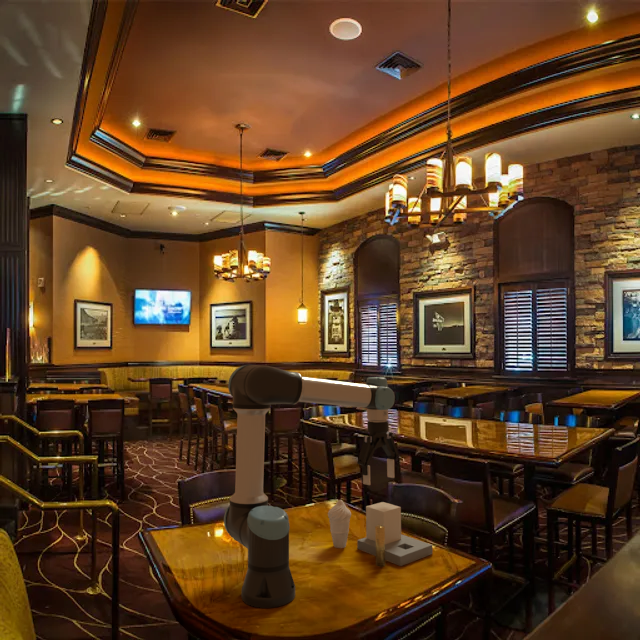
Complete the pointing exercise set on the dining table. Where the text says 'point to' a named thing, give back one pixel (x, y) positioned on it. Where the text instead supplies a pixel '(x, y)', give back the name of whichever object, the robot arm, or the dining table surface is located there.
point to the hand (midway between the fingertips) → (379, 480)
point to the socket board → (398, 549)
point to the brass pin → (380, 545)
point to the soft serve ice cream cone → (339, 524)
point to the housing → (384, 521)
